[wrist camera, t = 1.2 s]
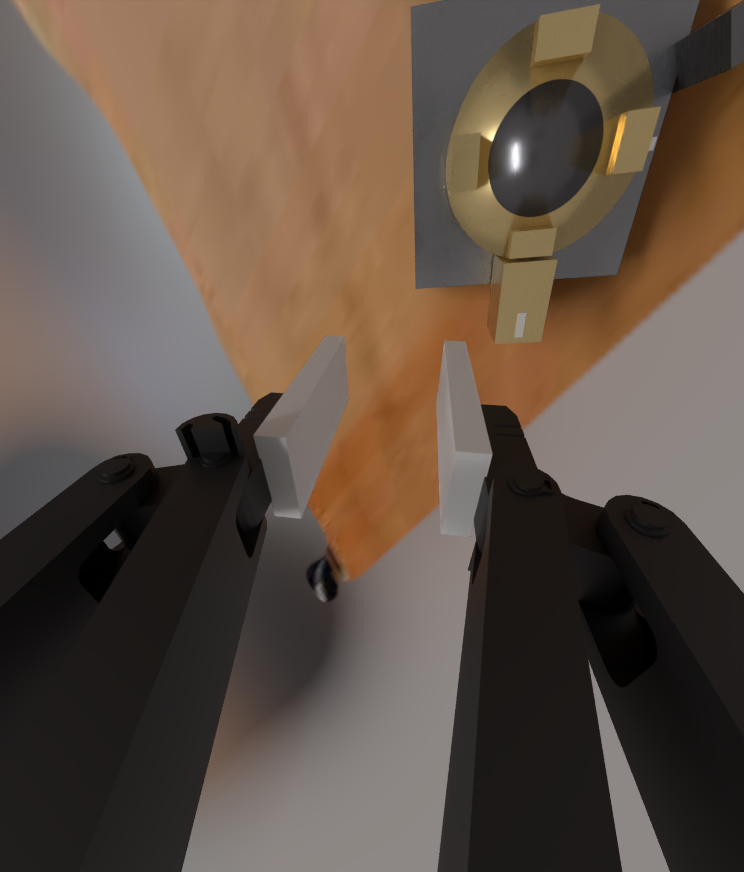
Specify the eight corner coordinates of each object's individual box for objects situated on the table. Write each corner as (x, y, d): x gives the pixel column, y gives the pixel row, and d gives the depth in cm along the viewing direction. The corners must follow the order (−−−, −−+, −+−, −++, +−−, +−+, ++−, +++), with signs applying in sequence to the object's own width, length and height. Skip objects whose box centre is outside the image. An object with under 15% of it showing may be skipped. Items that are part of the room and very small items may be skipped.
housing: (413, 29, 20) (406, -35, 14) (723, -33, 17) (863, -140, 12) (417, 280, 28) (413, 302, 23) (629, 264, 25) (686, 285, 20)
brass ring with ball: (448, 53, 18) (452, 23, 15) (654, 15, 17) (709, -28, 13) (441, 327, 27) (442, 346, 24) (576, 320, 25) (598, 339, 22)
